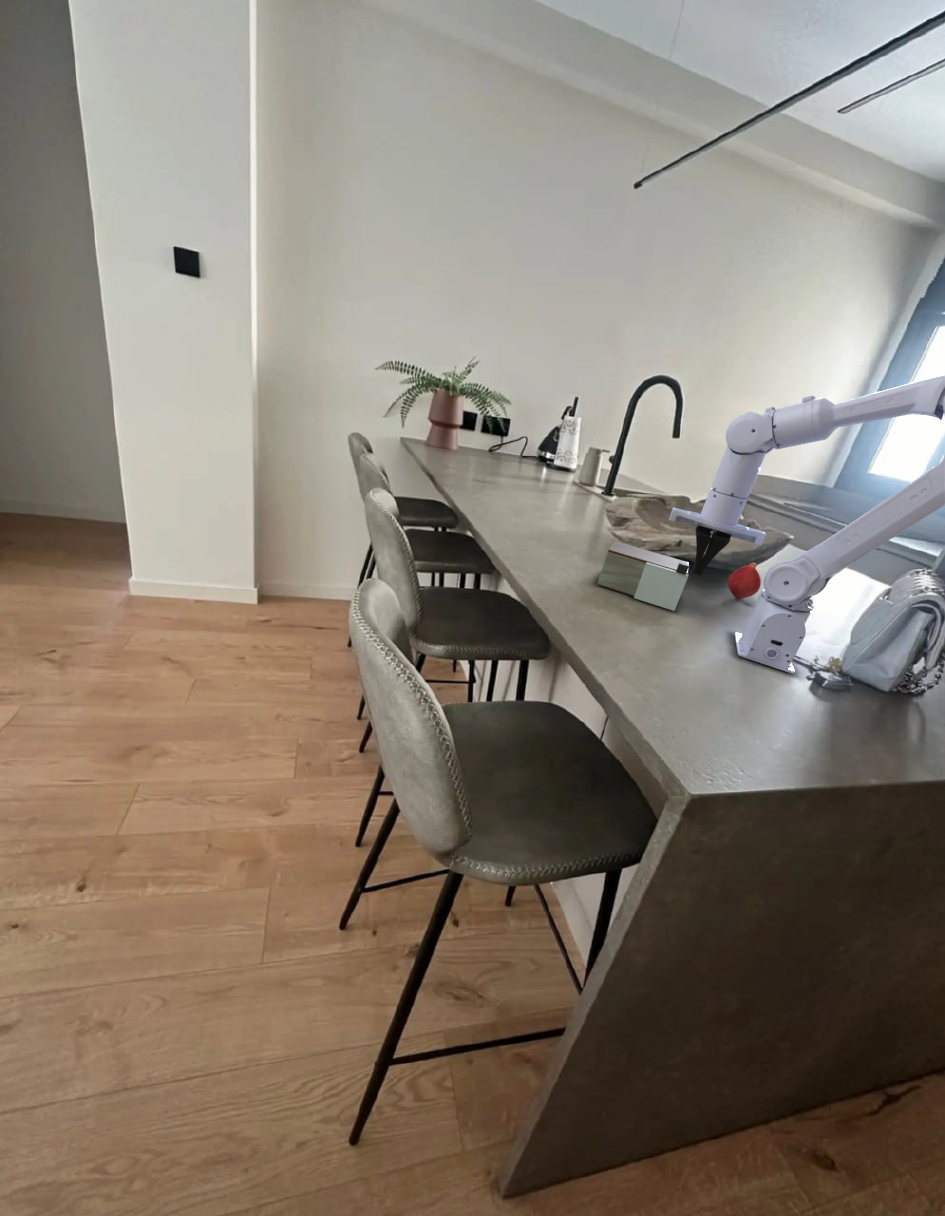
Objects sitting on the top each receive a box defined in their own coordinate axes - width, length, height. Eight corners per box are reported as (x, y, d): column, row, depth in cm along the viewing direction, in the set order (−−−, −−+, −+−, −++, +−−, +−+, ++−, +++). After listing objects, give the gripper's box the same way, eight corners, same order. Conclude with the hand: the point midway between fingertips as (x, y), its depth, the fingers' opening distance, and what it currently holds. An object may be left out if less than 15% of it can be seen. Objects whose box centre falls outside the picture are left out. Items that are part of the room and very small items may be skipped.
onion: (724, 599, 105) (740, 562, 101) (720, 590, 110) (735, 554, 107) (754, 608, 104) (772, 570, 100) (749, 598, 109) (765, 562, 105)
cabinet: (673, 610, 93) (687, 574, 90) (596, 585, 97) (608, 550, 94) (675, 596, 100) (688, 562, 97) (603, 574, 104) (614, 540, 101)
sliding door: (674, 611, 92) (691, 567, 88) (633, 598, 94) (649, 554, 90) (674, 609, 93) (692, 565, 89) (634, 596, 95) (649, 553, 91)
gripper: (774, 502, 85) (740, 579, 90) (683, 479, 89) (655, 554, 94) (780, 509, 79) (743, 591, 84) (681, 483, 83) (652, 563, 88)
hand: (696, 572), depth 89 cm, fingers closed
